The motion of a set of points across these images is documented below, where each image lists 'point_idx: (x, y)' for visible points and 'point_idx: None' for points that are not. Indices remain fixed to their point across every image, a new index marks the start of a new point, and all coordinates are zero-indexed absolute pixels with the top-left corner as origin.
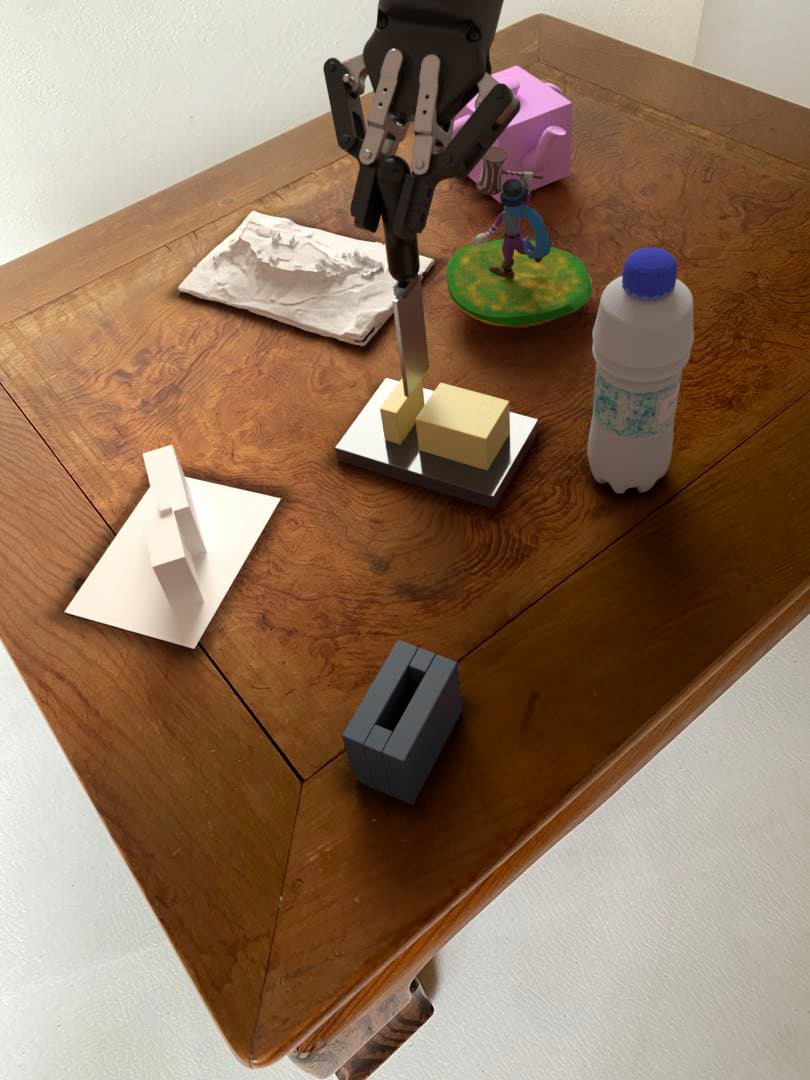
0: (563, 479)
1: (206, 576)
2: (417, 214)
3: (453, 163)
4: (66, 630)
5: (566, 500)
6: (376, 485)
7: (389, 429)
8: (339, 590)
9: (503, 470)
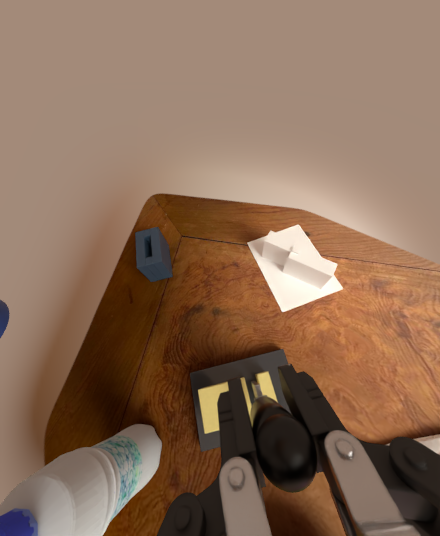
0: (171, 418)
1: (271, 264)
2: (219, 409)
3: (171, 514)
4: (290, 221)
5: (163, 404)
6: (251, 348)
7: (262, 372)
8: (222, 292)
9: (195, 394)
